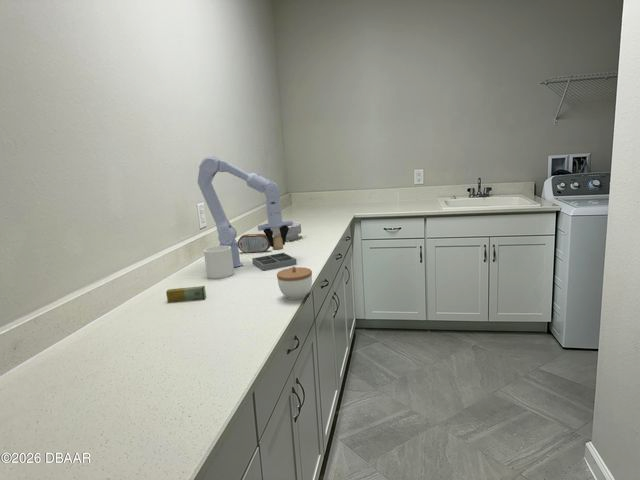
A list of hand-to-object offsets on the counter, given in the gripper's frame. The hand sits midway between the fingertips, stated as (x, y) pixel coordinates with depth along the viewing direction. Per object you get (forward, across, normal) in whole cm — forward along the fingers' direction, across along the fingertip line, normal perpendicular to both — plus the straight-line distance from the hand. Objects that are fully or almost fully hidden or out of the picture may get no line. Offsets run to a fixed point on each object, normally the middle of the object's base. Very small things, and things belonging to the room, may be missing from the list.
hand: (277, 245), depth 174 cm
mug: (+7, -24, -3) cm, 25 cm away
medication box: (+7, -41, -25) cm, 49 cm away
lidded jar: (+7, -11, -45) cm, 47 cm away
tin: (+7, -3, +23) cm, 24 cm away
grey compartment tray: (+6, -3, -3) cm, 8 cm away
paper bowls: (+7, +19, +39) cm, 44 cm away
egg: (+1, 0, 0) cm, 1 cm away
